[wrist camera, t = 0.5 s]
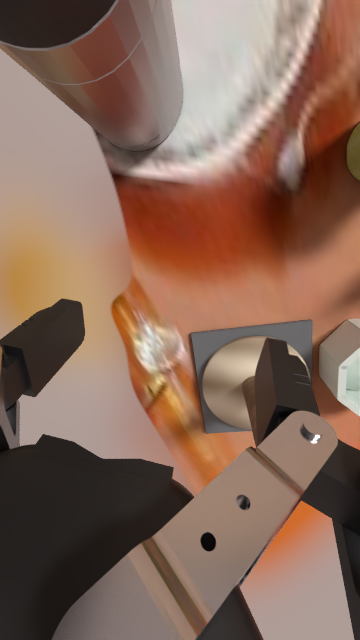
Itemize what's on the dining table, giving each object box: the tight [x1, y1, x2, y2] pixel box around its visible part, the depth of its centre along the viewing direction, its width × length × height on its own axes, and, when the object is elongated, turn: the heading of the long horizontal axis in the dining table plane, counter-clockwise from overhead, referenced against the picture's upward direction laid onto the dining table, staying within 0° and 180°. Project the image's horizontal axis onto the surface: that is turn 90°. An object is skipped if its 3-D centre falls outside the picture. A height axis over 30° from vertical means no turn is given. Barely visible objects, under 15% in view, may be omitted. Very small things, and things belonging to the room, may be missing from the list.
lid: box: [202, 335, 311, 447], centre depth 29 cm, size 13×13×11 cm
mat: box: [191, 319, 312, 434], centre depth 35 cm, size 15×14×1 cm
